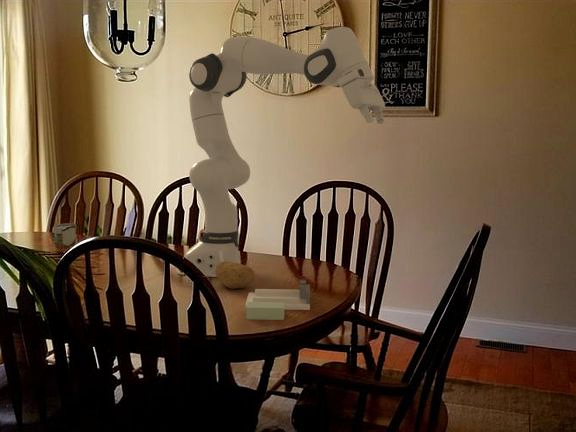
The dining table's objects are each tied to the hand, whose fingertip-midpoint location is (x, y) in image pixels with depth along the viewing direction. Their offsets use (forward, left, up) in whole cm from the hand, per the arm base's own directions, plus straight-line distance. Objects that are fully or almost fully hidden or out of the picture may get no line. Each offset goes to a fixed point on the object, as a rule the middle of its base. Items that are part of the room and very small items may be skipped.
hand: (376, 122), depth 174 cm
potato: (-41, +8, -52) cm, 67 cm away
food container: (-115, +57, -52) cm, 138 cm away
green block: (-30, -19, -52) cm, 63 cm away
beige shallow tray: (-27, -7, -52) cm, 59 cm away
